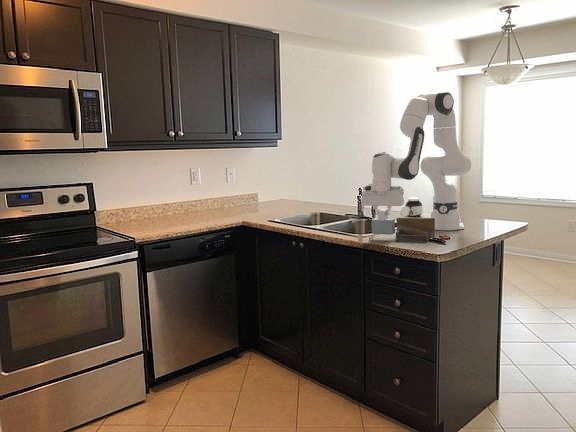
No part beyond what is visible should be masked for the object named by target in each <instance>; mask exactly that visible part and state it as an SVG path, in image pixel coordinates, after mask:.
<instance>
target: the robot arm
mask: <svg viewBox="0 0 576 432" xmlns="http://www.w3.org/2000/svg"><path fill="white" fill-rule="evenodd" d="M454 103H455V100H454V97H453V95H452V93H451V92H449V91H443V90H442V91H433V92H430V93H429V92H428V93H426V94H425V93H424V94H421V95H418V96H415V97H413V98H411V99H410V101H409V102H408V104H407V106H406V107H405V110H404V112H403V114H402V117H401V120H400V123H399V128H400V129H399V130H400V131H401V133H402V134H403V135H404V136H406V137H407V138H409V140H410V142H409V147H408V152H407V154H406V155H407V156H405V157H404V158H397V157H394V156H392V155H391V154H390V153H389V152H387V151H386V152H385V151H383V152H378V153H375V154H374V155H373V158H372V162H371V163H372V164H371V172H372V183H369V184H368V185H365V186H363V187H362V189H363V191H362V194H361V204H362V206H363V207H365V206H367V207H371V206H373V209H374V210H375V212H376V215H377V216H378V211H379V207H387V208H386V209H388V210H387V211H386V212H385V213H386V214H385V215H388V216H390V211H391V210H392V207H402V206H403V205H404V204H405V200H404V194H405V193H404V192H405V191H404V188H403V187H402V186H400V185H399V186H392V179H402V180H407V181H411V180H414V179H415V178H416V177H417V175H418V173H419V171H420V170H421V173H422V174H423V175H425V176H426V177H427V178H428V180H429V181H430V182H431V184H432V185H431V186H432V188H433V196H434V205H432V207H433V206H434V210H432V211H431V212H430V218H435V231H457V230H464V229H465V225H464V223H463V222H462V219H461V214H460V212H459V211H458V207H459V205H458V202H457V188H456V186H455V185H454V183H452V182H449V181H448V180H447V178H446V176H447V177H449V176H450V177H452V176H455V177H459V176H464V175H467V174H468V173H469V172H470V171H471V167H472V161H471V159H470V157H469V156H468V155H466V154H465V153H464V152H463V151H462V150H461V148H460V147H459V144H458V140H457V123H456V122H457V121H456V116H455V111H454ZM427 116H432V118H433V143H434V145H435V146H436V147H438V148H440V149H442V150H443V152H444V154H433V155H428V156H425V157H423V158H422V159H421V155H422V151H423V145H424V140H425V130H424V124H425V122H426V118H427ZM420 159H421V162H420Z"/></svg>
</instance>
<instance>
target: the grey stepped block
mask: <svg viewBox="0 0 576 432" xmlns="http://www.w3.org/2000/svg"><path fill="white" fill-rule="evenodd" d="M378 210H379V209H378ZM387 210H388V208H381V209H380V210H379V211H378V215H377V217H374V218H372V219H371V234H372V235H389V236H390V235H391V236H392V235H394V234H396V228H395V226H396V222H395V218H389V215H385V214H386V213H385V212H386V211H387Z"/></svg>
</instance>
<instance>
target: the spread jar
mask: <svg viewBox="0 0 576 432" xmlns="http://www.w3.org/2000/svg"><path fill="white" fill-rule="evenodd" d="M400 209H401V210H400V211H399V213H400V217H410V218H421V216H422V214H423V204H422V202H421V201H420V198H419V197H408V198H407V202H406V203H405V206H403V207H402V208H400Z"/></svg>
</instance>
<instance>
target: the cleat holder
mask: <svg viewBox="0 0 576 432" xmlns="http://www.w3.org/2000/svg"><path fill="white" fill-rule="evenodd" d="M430 238H435V239H436V230H435V218H431V217H408V216H407V217H402V216H397V217H396V231H395V241H396V242H402V243H403V242H404V243H405V242H407V243H428V242H429V241H430V240H431V239H430Z"/></svg>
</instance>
